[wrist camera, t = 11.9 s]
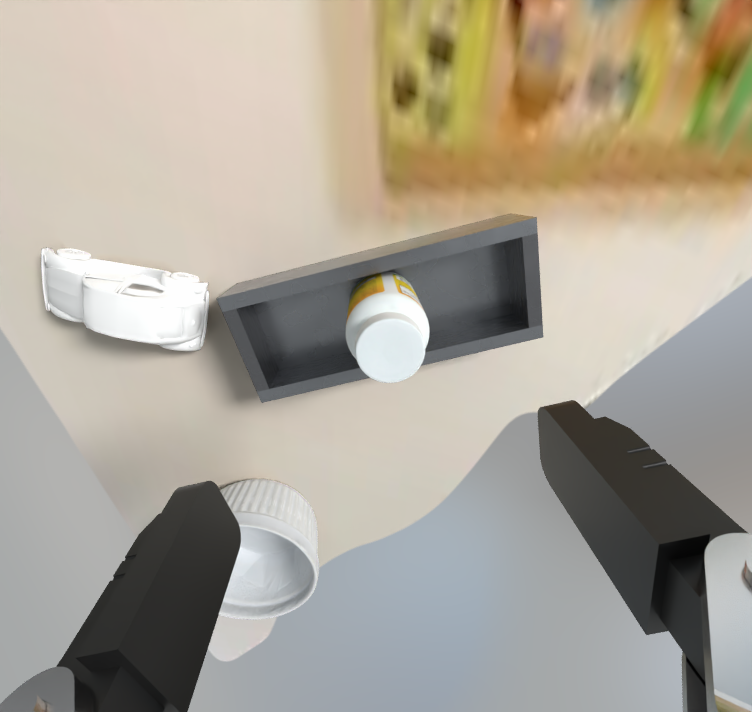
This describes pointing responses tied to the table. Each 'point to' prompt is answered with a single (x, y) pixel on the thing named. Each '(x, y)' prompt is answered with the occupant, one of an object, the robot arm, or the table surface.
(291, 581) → the ramekin
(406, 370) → the supplement bottle
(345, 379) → the open rectangular box
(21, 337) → the table surface
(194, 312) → the car
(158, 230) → the table surface
